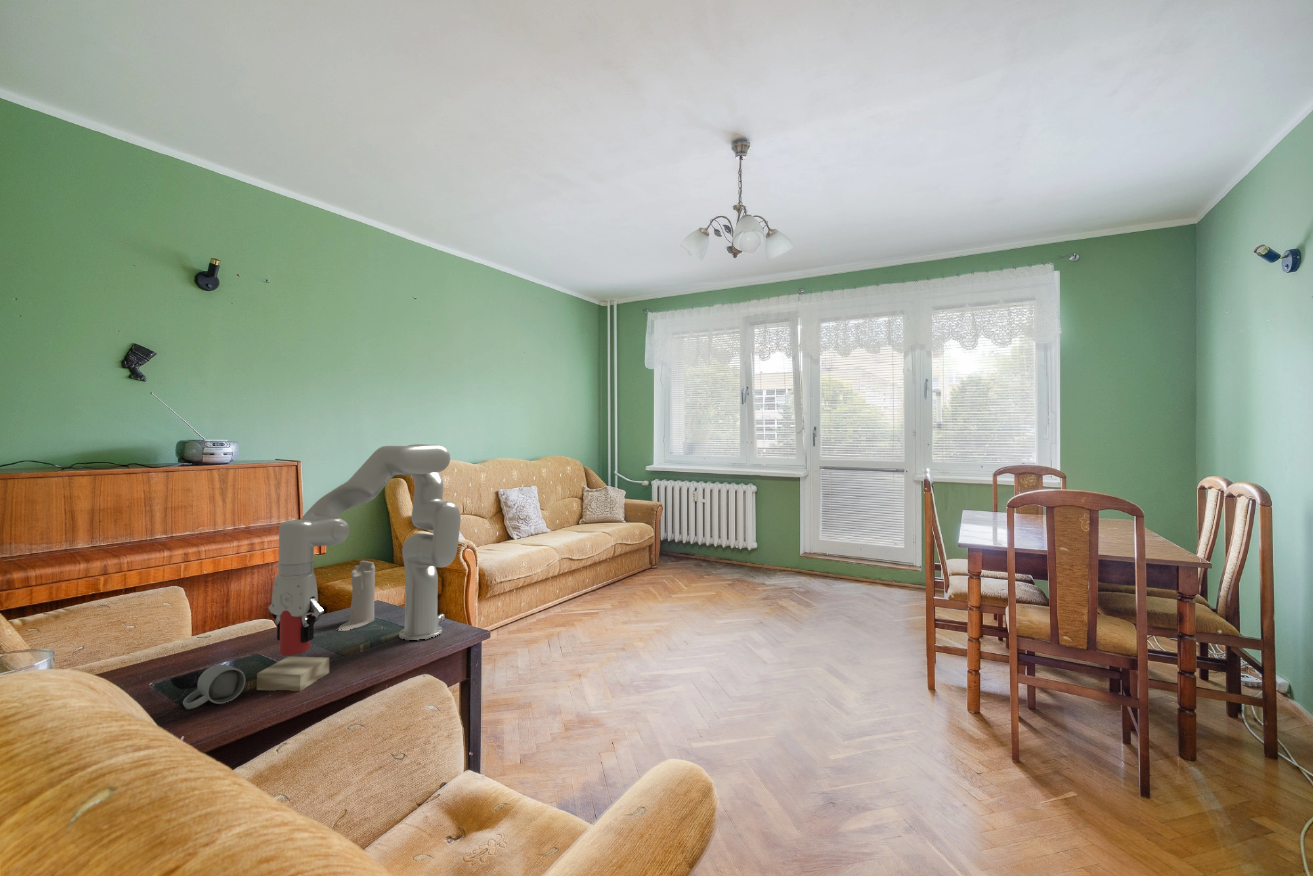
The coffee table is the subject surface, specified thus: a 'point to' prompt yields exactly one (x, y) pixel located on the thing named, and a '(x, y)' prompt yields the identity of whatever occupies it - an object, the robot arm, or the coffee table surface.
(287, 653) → the beer can
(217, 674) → the ceramic mug
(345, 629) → the beige boot
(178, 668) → the coffee table surface
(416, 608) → the robot arm
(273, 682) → the birch block
